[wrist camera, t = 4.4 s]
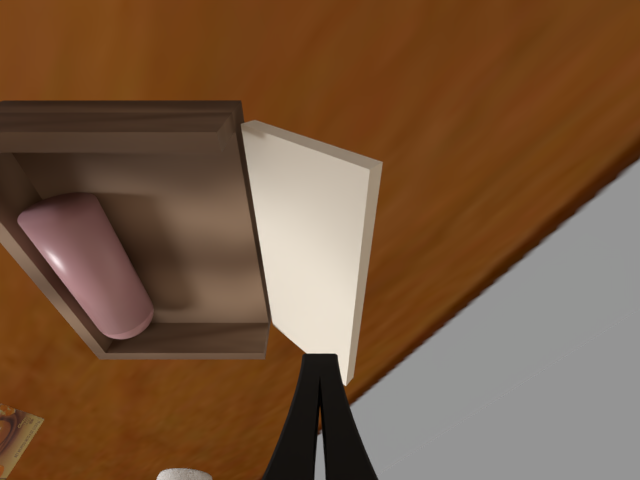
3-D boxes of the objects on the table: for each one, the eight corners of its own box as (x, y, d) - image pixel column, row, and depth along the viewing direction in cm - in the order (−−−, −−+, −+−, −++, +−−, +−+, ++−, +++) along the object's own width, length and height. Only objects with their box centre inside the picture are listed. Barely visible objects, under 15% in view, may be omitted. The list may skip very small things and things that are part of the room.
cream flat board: (240, 123, 14) (369, 169, 10) (254, 119, 14) (382, 161, 11) (272, 325, 23) (345, 386, 19) (280, 318, 24) (353, 377, 20)
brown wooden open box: (3, 100, 15) (-93, 132, 11) (241, 100, 15) (217, 132, 11) (130, 308, 25) (99, 359, 21) (272, 308, 25) (265, 359, 21)
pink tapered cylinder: (49, 192, 16) (-2, 228, 13) (110, 192, 16) (71, 228, 13) (123, 309, 22) (97, 349, 19) (167, 309, 22) (148, 349, 19)
